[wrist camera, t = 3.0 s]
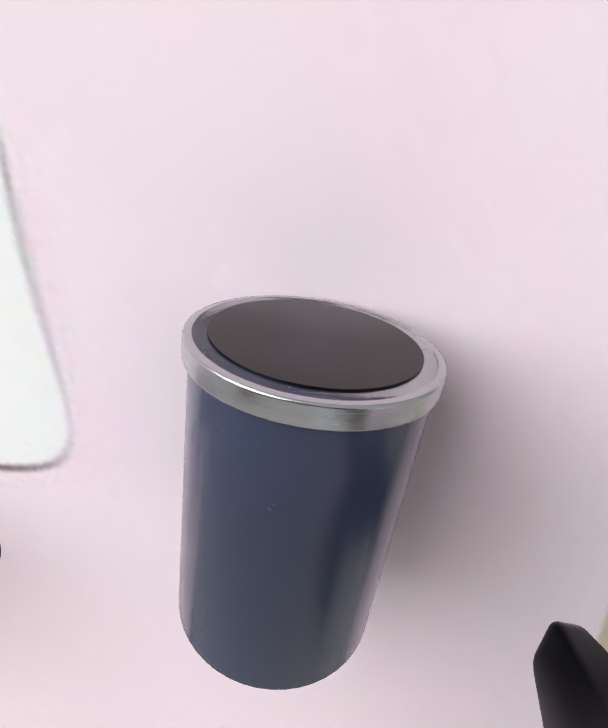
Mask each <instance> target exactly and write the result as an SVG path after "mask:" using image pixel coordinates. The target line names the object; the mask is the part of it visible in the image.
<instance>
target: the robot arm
mask: <svg viewBox="0 0 608 728" xmlns="http://www.w3.org/2000/svg"><path fill="white" fill-rule="evenodd" d="M0 557H1V545H0ZM533 670H534V677H535V682H536V688H537V693H538V699H539V704H540V710H541V715H542V721H543V727H544V728H608V653H607V651H606V650H605V649H604V648H603V647H602V646H601V645H600V644H599V643H598V642H597V641H596V640H595V639H594V638H593V637H592V636H591V635H590V634H589V633H588V632H587V631H586V630H585V629H584V628H582V627H580V626H578V625H574V624H569V623H563V622H558V621H557V622H553V623H551V624H550V626H549V627H548V629H547V631H546V633H545V635H544V637H543V639H542V641H541V643H540V645H539V647H538V649H537V651H536V653H535V656H534V661H533Z"/></svg>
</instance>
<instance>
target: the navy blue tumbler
mask: <svg viewBox="0 0 608 728" xmlns="http://www.w3.org/2000/svg"><path fill="white" fill-rule="evenodd" d="M182 360H183V364H184V366H185V368H186V370H187V398H186V425H185V452H184V479H183V506H182V532H181V559H180V586H179V610H180V617H181V621H182V624H183V628H184V630H185V633H186V635H187V637H188V639H189V641H190V642H191V644H192V645H193V647H194V648H195V650H196V651H197V653H198V654H199V655H200V656H201V657H202V658H203V659H204V660H205V661H206V662H207V663H208V664H209V665H210V666H212V667H213V668H214V669H215V670H216V671H218V672H220V673H221V674H223V675H225V676H226V677H228V678H230V679H232V680H234V681H237V682H239V683H241V684H245V685H248V686H252V687H255V688H262V689H270V690H286V689H293V688H299V687H303V686H306V685H309V684H313V683H315V682H317V681H319V680H321V679H324V678H326V677H327V676H329V675H330V674H332V673H333V672H335V671H336V670H337V669H339V668H340V667H341V666H342V665H343V664H344V663H345V662H346V661H347V660H348V659H349V657H350V656H351V655H352V654H353V653H354V651H355V649H356V647H357V646H358V644H359V642H360V640H361V637H362V635H363V632H364V629H365V626H366V622H367V619H368V615H369V612H370V609H371V605H372V602H373V599H374V595H375V592H376V588H377V585H378V582H379V578H380V575H381V572H382V568H383V565H384V561H385V558H386V555H387V551H388V548H389V545H390V541H391V538H392V534H393V531H394V528H395V524H396V521H397V518H398V514H399V511H400V507H401V504H402V501H403V497H404V494H405V490H406V487H407V484H408V480H409V477H410V474H411V470H412V467H413V463H414V460H415V457H416V453H417V450H418V447H419V443H420V440H421V436H422V433H423V430H424V426H425V423H426V420H427V416H428V413H429V411H430V410H431V409H432V408H433V407H434V406H435V404H436V403H437V402H438V400H439V398H440V396H441V393H442V390H443V386H444V383H445V380H446V375H447V367H446V363H445V360H444V358H443V356H442V354H441V353H440V352H439V350H438V349H437V348H436V347H435V346H434V345H433V344H432V343H431V342H430V341H429V340H427V339H426V338H425V337H423V336H422V335H421V334H419V333H417V332H416V331H414V330H413V329H411V328H409V327H407V326H405V325H403V324H401V323H399V322H397V321H395V320H392V319H390V318H388V317H385V316H383V315H380V314H377V313H374V312H371V311H368V310H365V309H362V308H358V307H355V306H351V305H347V304H342V303H338V302H333V301H327V300H321V299H314V298H306V297H295V296H251V297H242V298H235V299H230V300H225V301H221V302H218V303H214V304H212V305H209V306H207V307H204V308H202V309H201V310H199V311H197V312H196V313H194V314H193V315H192V316H191V317H190V318H189V319H188V321H187V322H186V323H185V325H184V328H183V331H182Z"/></svg>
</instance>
